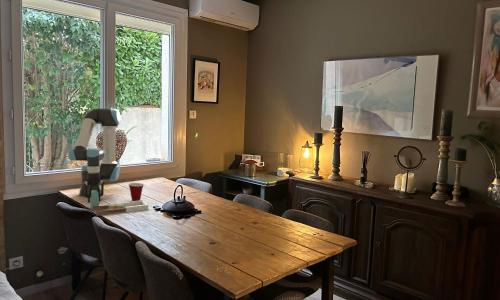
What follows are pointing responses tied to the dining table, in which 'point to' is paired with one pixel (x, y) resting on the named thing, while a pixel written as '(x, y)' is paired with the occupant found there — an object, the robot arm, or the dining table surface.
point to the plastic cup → (135, 191)
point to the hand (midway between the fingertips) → (94, 206)
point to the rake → (94, 199)
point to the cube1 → (111, 206)
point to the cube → (119, 206)
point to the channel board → (105, 212)
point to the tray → (135, 206)
